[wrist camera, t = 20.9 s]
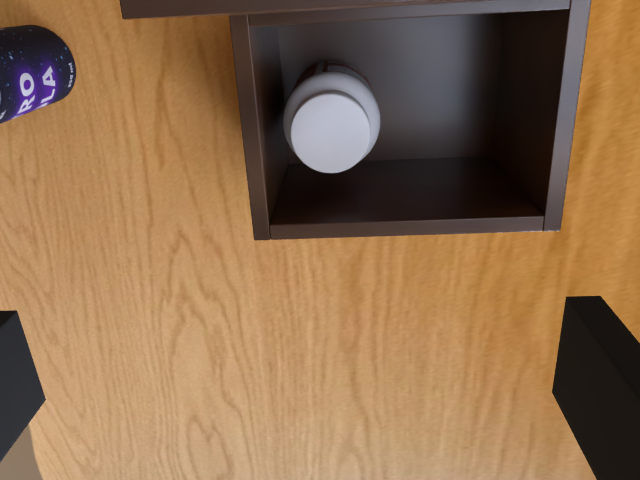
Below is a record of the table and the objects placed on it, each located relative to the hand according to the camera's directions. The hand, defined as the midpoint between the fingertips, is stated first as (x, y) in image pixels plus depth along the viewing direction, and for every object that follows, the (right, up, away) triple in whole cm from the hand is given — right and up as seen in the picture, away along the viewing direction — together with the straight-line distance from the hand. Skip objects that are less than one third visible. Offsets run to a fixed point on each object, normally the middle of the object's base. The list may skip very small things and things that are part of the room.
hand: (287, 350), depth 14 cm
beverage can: (-20, +16, +29) cm, 39 cm away
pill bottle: (+2, +13, +29) cm, 32 cm away
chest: (+6, +14, +29) cm, 33 cm away
